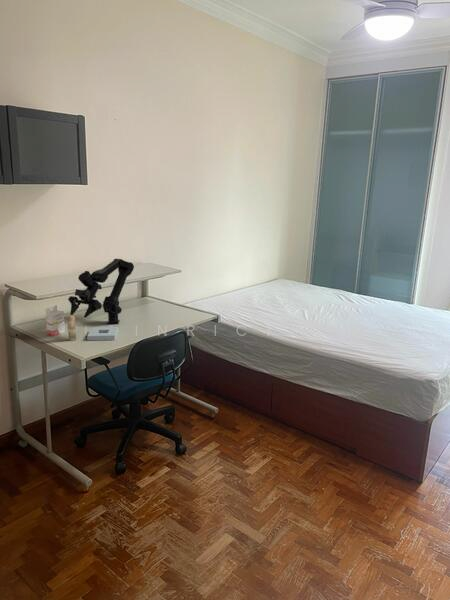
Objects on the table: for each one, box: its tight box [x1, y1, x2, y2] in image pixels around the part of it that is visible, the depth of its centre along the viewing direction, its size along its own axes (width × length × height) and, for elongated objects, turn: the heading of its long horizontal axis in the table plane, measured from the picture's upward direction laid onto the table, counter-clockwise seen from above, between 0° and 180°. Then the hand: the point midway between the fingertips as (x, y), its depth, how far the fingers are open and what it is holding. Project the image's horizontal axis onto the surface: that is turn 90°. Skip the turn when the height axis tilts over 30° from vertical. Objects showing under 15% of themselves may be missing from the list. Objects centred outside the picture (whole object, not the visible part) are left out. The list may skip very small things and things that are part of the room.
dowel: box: [66, 315, 77, 342], centre depth 230 cm, size 4×4×12 cm
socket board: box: [86, 326, 119, 341], centre depth 238 cm, size 14×14×2 cm
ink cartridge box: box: [45, 304, 66, 337], centre depth 239 cm, size 9×5×15 cm, turn 157°
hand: (77, 316), depth 233 cm, fingers open, 9 cm apart
